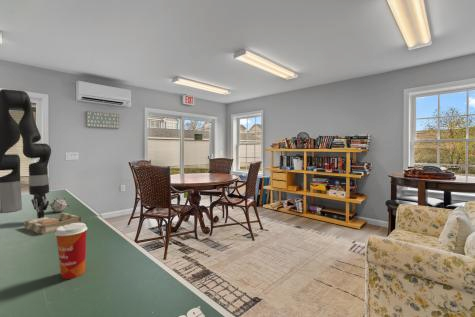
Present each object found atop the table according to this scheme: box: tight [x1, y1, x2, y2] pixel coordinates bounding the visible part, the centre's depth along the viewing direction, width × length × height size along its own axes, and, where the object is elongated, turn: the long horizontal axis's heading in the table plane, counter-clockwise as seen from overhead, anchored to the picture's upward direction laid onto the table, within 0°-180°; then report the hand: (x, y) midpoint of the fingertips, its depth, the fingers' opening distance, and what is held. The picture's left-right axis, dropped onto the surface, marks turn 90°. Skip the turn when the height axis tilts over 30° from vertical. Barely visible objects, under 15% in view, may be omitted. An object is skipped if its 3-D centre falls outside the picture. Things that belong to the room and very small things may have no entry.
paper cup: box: [54, 222, 88, 280], centre depth 68 cm, size 8×8×14 cm
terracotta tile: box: [38, 217, 60, 225], centre depth 110 cm, size 6×6×3 cm
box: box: [24, 211, 82, 235], centre depth 110 cm, size 17×15×4 cm
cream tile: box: [29, 216, 50, 223], centre depth 113 cm, size 6×6×3 cm
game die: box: [48, 197, 70, 214], centre depth 134 cm, size 9×8×10 cm
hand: (40, 218), depth 116 cm, fingers closed
